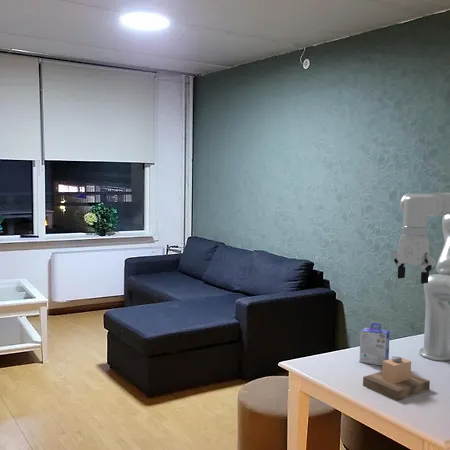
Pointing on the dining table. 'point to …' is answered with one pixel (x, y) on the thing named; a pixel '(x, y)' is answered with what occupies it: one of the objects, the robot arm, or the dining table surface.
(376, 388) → the wooden square tile
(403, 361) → the block
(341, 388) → the dining table surface
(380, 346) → the ink cartridge box
